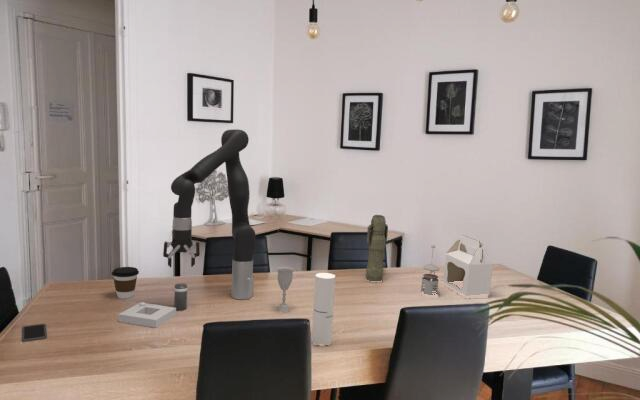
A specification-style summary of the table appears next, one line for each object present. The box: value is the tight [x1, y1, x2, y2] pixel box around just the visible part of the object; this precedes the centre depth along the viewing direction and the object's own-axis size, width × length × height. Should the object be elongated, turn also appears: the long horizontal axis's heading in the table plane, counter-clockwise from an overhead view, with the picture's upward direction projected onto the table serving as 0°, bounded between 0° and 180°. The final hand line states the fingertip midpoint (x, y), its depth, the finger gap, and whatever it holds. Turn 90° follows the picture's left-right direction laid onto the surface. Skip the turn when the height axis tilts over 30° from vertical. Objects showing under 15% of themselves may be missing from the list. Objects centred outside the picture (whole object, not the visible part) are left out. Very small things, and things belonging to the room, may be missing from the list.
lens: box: [173, 283, 188, 312], centre depth 199 cm, size 5×5×10 cm
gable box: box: [442, 234, 493, 296], centre depth 244 cm, size 22×13×28 cm, turn 16°
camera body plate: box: [118, 301, 177, 328], centre depth 187 cm, size 16×14×4 cm
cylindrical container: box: [311, 272, 336, 345], centre depth 173 cm, size 7×7×25 cm
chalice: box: [276, 266, 295, 313], centre depth 204 cm, size 7×7×18 cm
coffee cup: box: [111, 266, 140, 300], centre depth 209 cm, size 11×11×12 cm
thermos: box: [365, 214, 389, 281], centre depth 254 cm, size 9×12×35 cm
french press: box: [420, 245, 441, 295], centre depth 236 cm, size 10×12×25 cm
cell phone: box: [21, 323, 48, 343], centre depth 169 cm, size 7×14×1 cm, turn 31°
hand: (181, 266), depth 197 cm, fingers open, 8 cm apart
